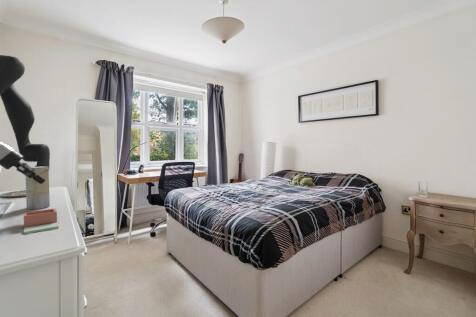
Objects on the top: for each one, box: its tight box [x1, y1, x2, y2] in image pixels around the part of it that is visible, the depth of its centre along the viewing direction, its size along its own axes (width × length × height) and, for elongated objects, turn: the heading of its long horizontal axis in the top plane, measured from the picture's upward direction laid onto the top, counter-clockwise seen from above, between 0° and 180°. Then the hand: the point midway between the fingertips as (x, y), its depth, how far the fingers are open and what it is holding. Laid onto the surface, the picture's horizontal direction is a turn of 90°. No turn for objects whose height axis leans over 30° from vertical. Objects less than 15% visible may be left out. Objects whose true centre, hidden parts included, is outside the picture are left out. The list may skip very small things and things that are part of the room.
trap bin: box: [23, 208, 58, 229], centre depth 95 cm, size 7×10×5 cm
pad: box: [23, 222, 60, 235], centre depth 90 cm, size 6×10×1 cm, turn 132°
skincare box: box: [27, 166, 50, 196], centre depth 103 cm, size 6×4×12 cm
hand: (43, 181), depth 104 cm, fingers closed on skincare box, 7 cm apart
